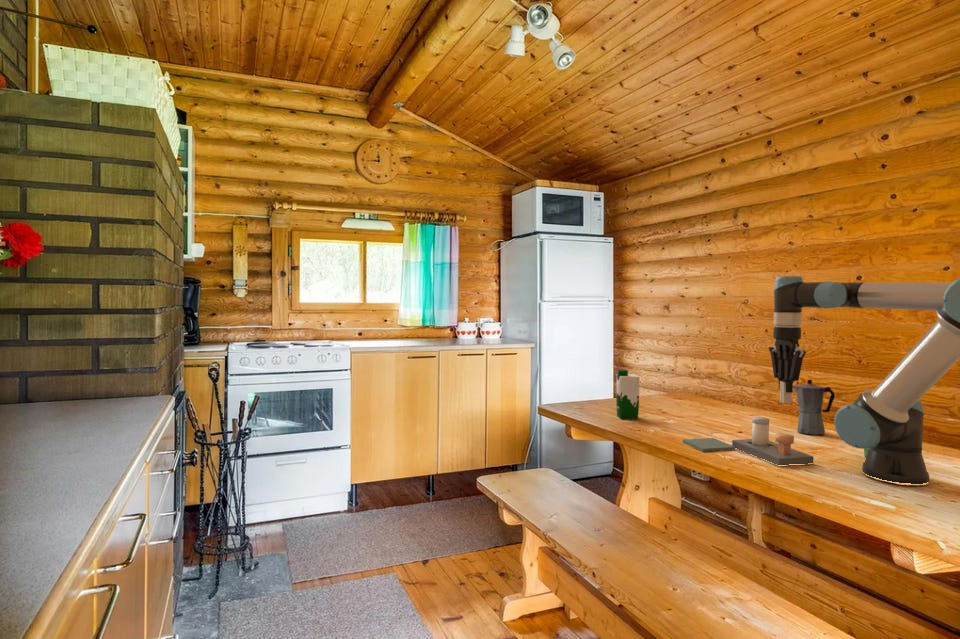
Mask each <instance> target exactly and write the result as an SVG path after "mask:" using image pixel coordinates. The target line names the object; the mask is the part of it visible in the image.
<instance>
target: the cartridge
mask: <svg viewBox="0 0 960 639" xmlns="http://www.w3.org/2000/svg"><path fill="white" fill-rule="evenodd" d="M769 437H770V418H768V417H765V416H752V418H751V439H752V445H755V446H757V447H763V446H769V441H770V438H769Z"/></svg>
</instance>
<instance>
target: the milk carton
mask: <svg viewBox="0 0 960 639" xmlns="http://www.w3.org/2000/svg"><path fill="white" fill-rule="evenodd" d="M615 375H616V393H615V394H616V395H615V396H616V397H615V398H616V401H615V403H616V406H615V407H616V416H617V417H618V418H619V419H620V420H638V419H639V411H640V376H639V375H636V374H633V373H632V374H629V370H627V369H619V370H617V374H615Z"/></svg>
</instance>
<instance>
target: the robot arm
mask: <svg viewBox="0 0 960 639" xmlns="http://www.w3.org/2000/svg"><path fill="white" fill-rule="evenodd" d="M773 302H774V303H773V304H774V305H773V306H774V309H773V320H772V322H773V325H774V327H773V329H772V330H773V332H772V333H773V334H772V336H773V339H775V342H774V346H773V345H772V346H769V348H768V351H769V353H770V357H771V363H772V365H771V366H772V372H773V377H774V379H777V380H778V382H779V383H778V389H779V403H782V404H790V403H791V404H792V393H793V389H794V388H793V386H794V385H793V384H794V382H796V381H797V382H798V381H799V379H800V375H801V370H802V365H803V361H804V357H805V355H806V354H807V352H806V350H805V349H804V350H803V349H801V348H800V344H799V340H801V339H802V328H801V327H800V326H801V325H802V311H803V310H802V309H803V308H814V309H815V308H816V309H817V308H818V309H819V308H820V309H834V308H835V309H836V308H837V309H838V308H851V309H853V308H854V309H855V308H857V309H878V310H879V309H882V310H883V309H884V310H904V311H905V310H909V311H930V312H931V311H932V312H936V316H937V321H936V322H935V323H934V324H933V325H932V326H931V327H930V329H928V330H927V332H926V333H925V334H924V335H923V336H922V337H921V338H920V339H919V341H917V343H915V345H913V347H912V348H911V349H910V350H909V351H908V352H907V353H906V355H904V357H903V358H902V359H901V360H900V361H899V362H898V364H896V366H894V367H893V369H892V370H891V371H890V372H889V373H888V374H887V375H886V376H885V378H883V379H882V381H880V383H879V384H877V386H876V387H875V389H865V390H864V391H863V392H862V393H861V394H860V395H859V396H858V397H857V398H856V399H855V400H854V402H852V403H851V404H846V405H844V406H841V407H840V408H839V409H838V410H837V411H836V413H834V414H835V415H834V419H833V423H834V426H835V431H836V434H837V435H838V436H839V438H840V439H841V440H842V441H843V442H844V443H845V444H847V445H849V446H850V447H853V448H856V449H863V450H864V448H866V449H870V450H869V452H868V454H867V457H866V460H865V459H864V460H865V461H864V462H863V464H862V466H861V467H862V471H863V472H864V473H865V474H867V475H869V476H872V477H876V478H879V479H882V480H887V481H892V482H899V483H911V484H923V483H927V482H929V483H930V474H929V472H928V470H927V466H926V463H925V458H924V457H923V438H924V437H923V435H924V434H923V433H924V415H925V412H924V404H923V402H922V401H921V400H920V399H921V398H923V397H924V395H925V394H926V393H927V392H928V391H929V390H930V389H931V388H932V387H933V386H934V385H935V384H937V382H938V381H939V380H940V379H942V377H943V376H945V374H946V373H947V372H948V371H949V370H950V369H951V368H952V367H953V366H954V365H955V364H956V363H957V362H958V361H959V360H960V277H958V278H957V279H955V280H953V281H952V282H951V281H946V282H945V281H944V282H943V281H942V282H938V281H936V282H933V281H931V282H930V281H929V282H927V281H926V282H925V281H923V282H922V281H920V282H918V281H917V282H916V281H915V282H914V281H913V282H910V281H909V282H907V281H906V282H905V281H904V282H897V281H896V282H893V281H891V282H887V281H886V282H879V281H877V282H876V281H873V282H860V281H859V282H856V281H855V282H854V281H850V282H848V281H847V282H846V281H845V282H839V281H829V280H828V281H812V282H811V281H810V282H804V280H803V276H802V275H801V276H800V275H799V276H798V275H789V276H788V275H787V276H786V275H785V276H777V277H776V278H775V280H774V288H773Z"/></svg>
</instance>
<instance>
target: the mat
mask: <svg viewBox="0 0 960 639" xmlns="http://www.w3.org/2000/svg"><path fill="white" fill-rule="evenodd" d="M682 443H683V444H686V445H687V446H689V447H691V448H694V449H697V450H698V451H700V452H702V453H703V452H704V453H706V451H708V452H718V451H717V450H725V451H733V450H732V449H735V447H734V446H732V444H729V443H728V442H727V443H726V442H724V441H722V440H720V439H716V438H715V437H708V438H703V437H702V438H691V439H690V438H688V439H682ZM735 450H736V449H735Z"/></svg>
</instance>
